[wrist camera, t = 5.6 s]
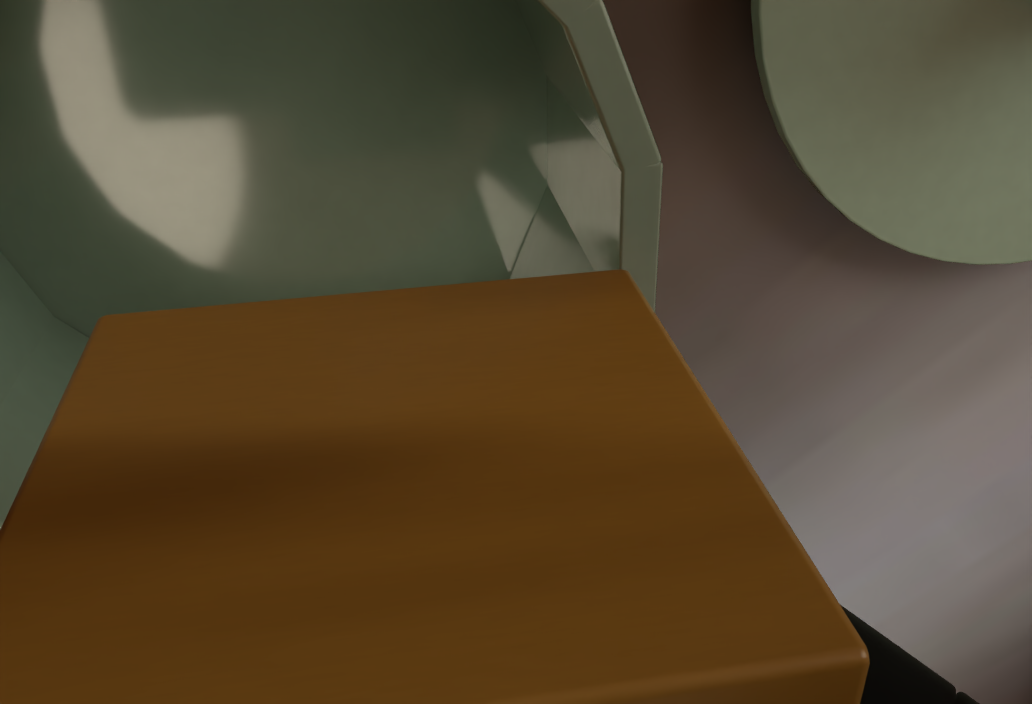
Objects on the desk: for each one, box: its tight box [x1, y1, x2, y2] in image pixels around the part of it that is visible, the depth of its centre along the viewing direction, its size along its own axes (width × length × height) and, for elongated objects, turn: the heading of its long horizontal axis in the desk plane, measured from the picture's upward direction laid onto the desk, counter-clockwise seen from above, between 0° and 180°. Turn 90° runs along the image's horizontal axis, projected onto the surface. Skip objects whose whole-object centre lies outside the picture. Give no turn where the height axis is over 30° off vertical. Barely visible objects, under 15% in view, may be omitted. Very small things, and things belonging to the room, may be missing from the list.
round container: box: [0, 0, 663, 529], centre depth 16 cm, size 12×12×6 cm
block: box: [0, 269, 870, 704], centre depth 8 cm, size 5×5×5 cm
